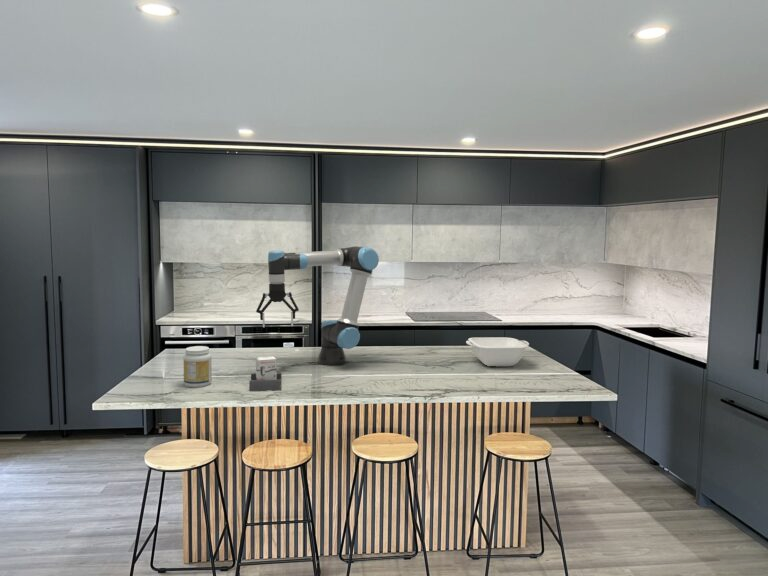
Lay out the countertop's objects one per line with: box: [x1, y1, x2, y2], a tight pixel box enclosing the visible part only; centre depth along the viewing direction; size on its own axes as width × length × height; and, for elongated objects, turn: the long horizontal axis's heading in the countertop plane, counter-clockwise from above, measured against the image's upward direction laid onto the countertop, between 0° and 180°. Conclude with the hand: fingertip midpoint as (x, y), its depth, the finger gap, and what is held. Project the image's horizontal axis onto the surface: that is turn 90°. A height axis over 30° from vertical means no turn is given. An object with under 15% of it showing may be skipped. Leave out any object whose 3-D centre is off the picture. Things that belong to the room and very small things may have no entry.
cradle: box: [248, 372, 282, 392], centre depth 263 cm, size 14×14×4 cm
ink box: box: [255, 355, 278, 380], centre depth 262 cm, size 9×5×12 cm, turn 117°
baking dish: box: [465, 336, 530, 367], centre depth 315 cm, size 34×28×13 cm
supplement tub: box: [183, 345, 213, 388], centre depth 264 cm, size 12×12×17 cm
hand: (278, 326), depth 279 cm, fingers open, 13 cm apart
